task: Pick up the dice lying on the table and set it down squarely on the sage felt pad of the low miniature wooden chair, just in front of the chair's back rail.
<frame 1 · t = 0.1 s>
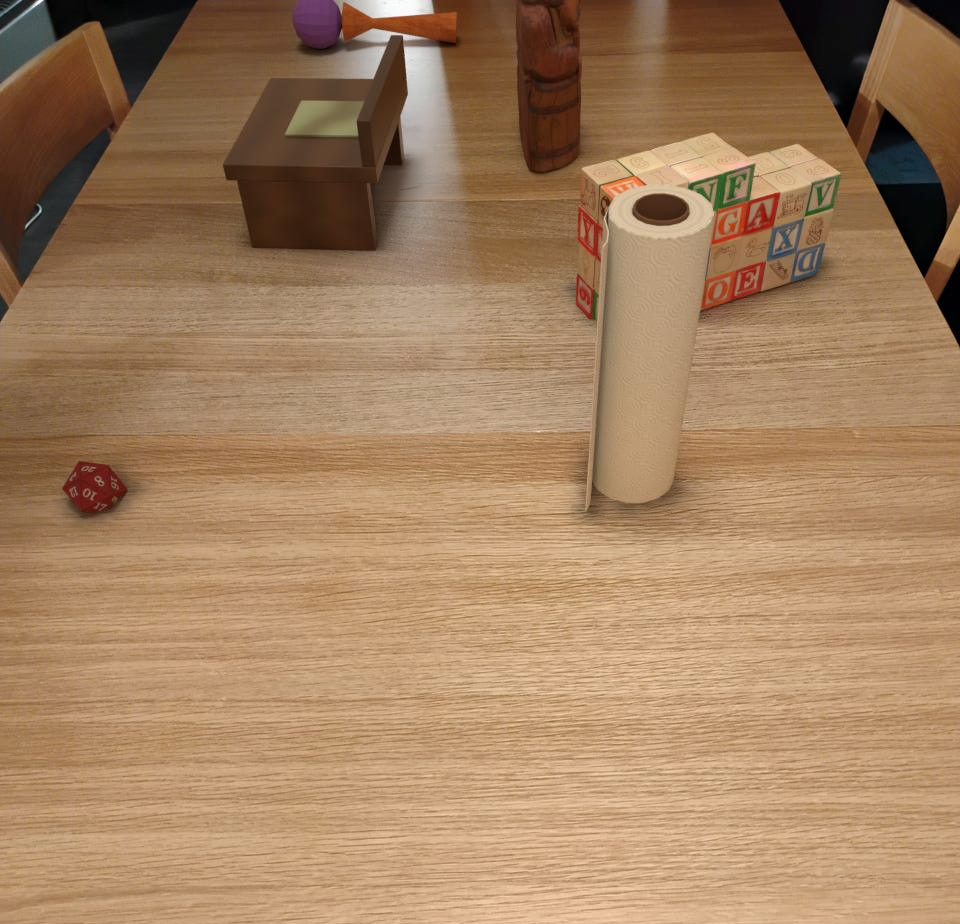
paper towel roll: (622, 489, 73), on the table
stack of blocks: (696, 291, 89), on the table
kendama: (377, 46, 125), on the table
wooden figurine: (548, 149, 106), on the table
dice: (104, 510, 74), on the table
miniature wooden chair: (332, 200, 101), on the table
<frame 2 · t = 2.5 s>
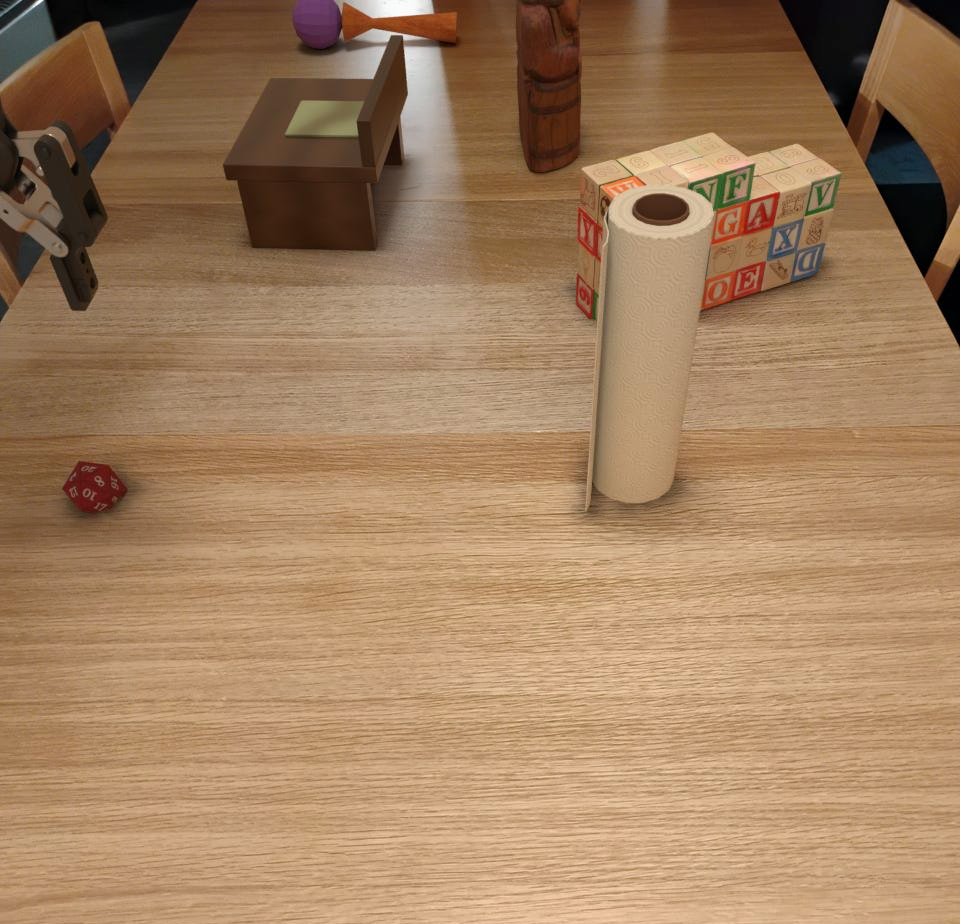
hand: (18, 303, 61), 17 cm above the table, tool pointing down, fingers open, 8 cm apart
nothing on the table moved.
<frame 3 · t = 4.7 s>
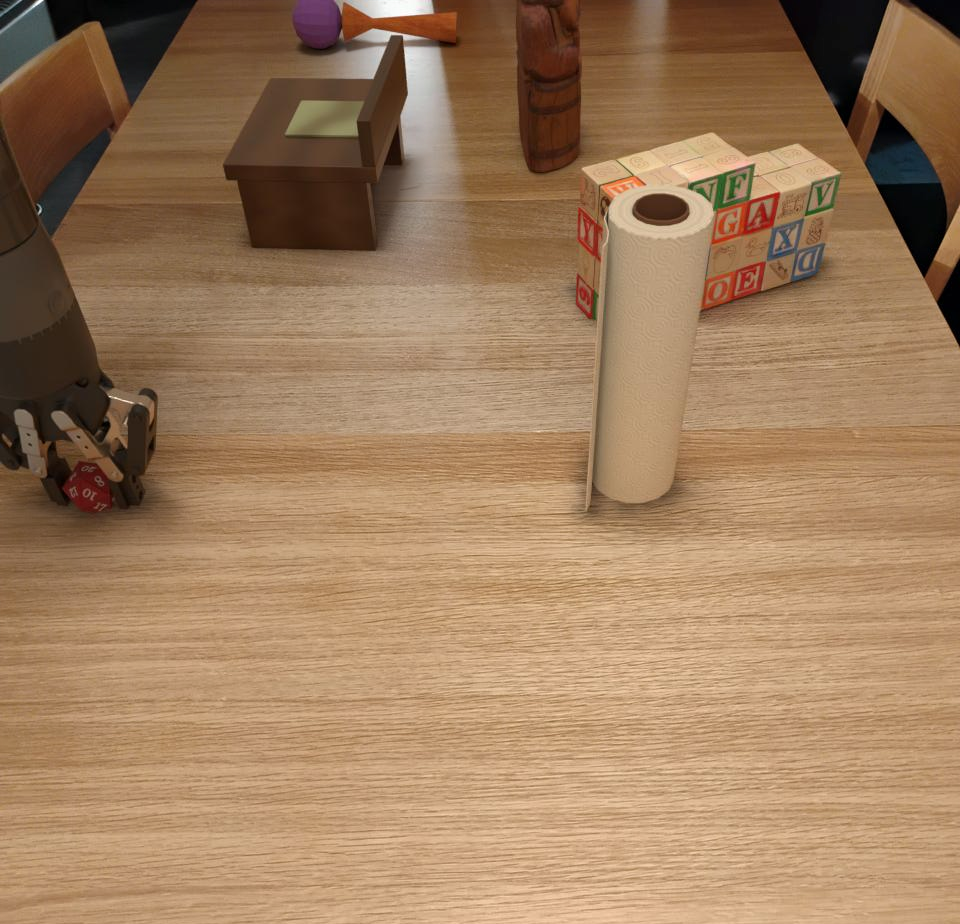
hand: (102, 506, 74), 0 cm above the table, tool pointing down, fingers closed on dice, 4 cm apart
dice: (104, 510, 74), on the table, touching gripper
everything else where it was.
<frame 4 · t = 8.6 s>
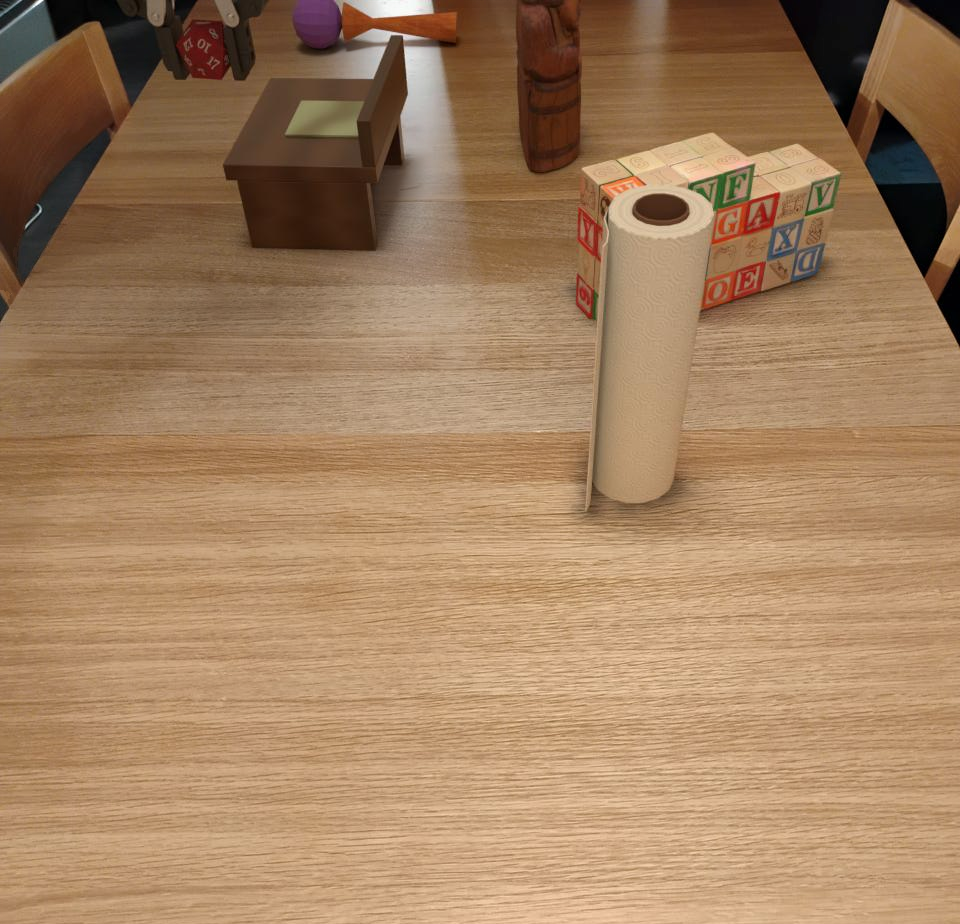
hand: (212, 74, 75), 19 cm above the table, tool pointing down, fingers closed on dice, 4 cm apart
dice: (214, 81, 75), point 19 cm above the table, touching gripper
everything else where it was.
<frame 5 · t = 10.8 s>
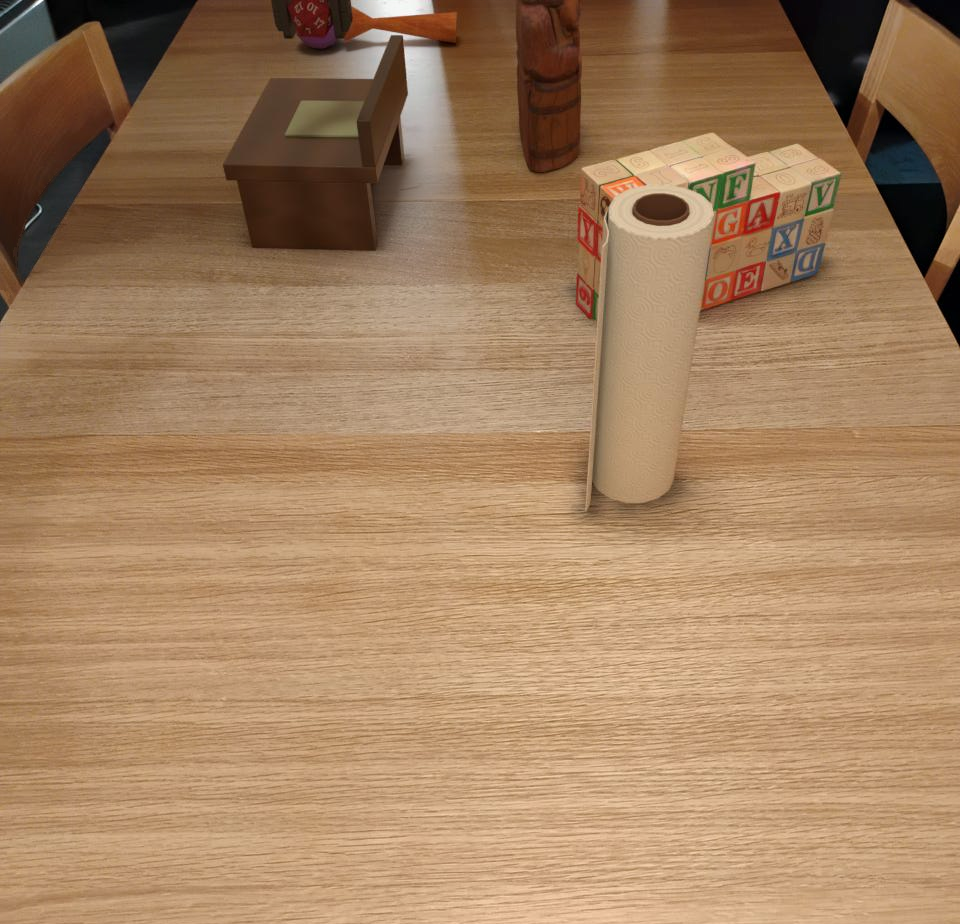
hand: (315, 34, 89), 15 cm above the table, tool pointing down, fingers closed on dice, 4 cm apart
dice: (316, 39, 89), point 15 cm above the table, touching gripper
everything else where it was.
when the fingers open (8 cm above the table, at t = 12.6 s): dice stays where it is, resting on miniature wooden chair.
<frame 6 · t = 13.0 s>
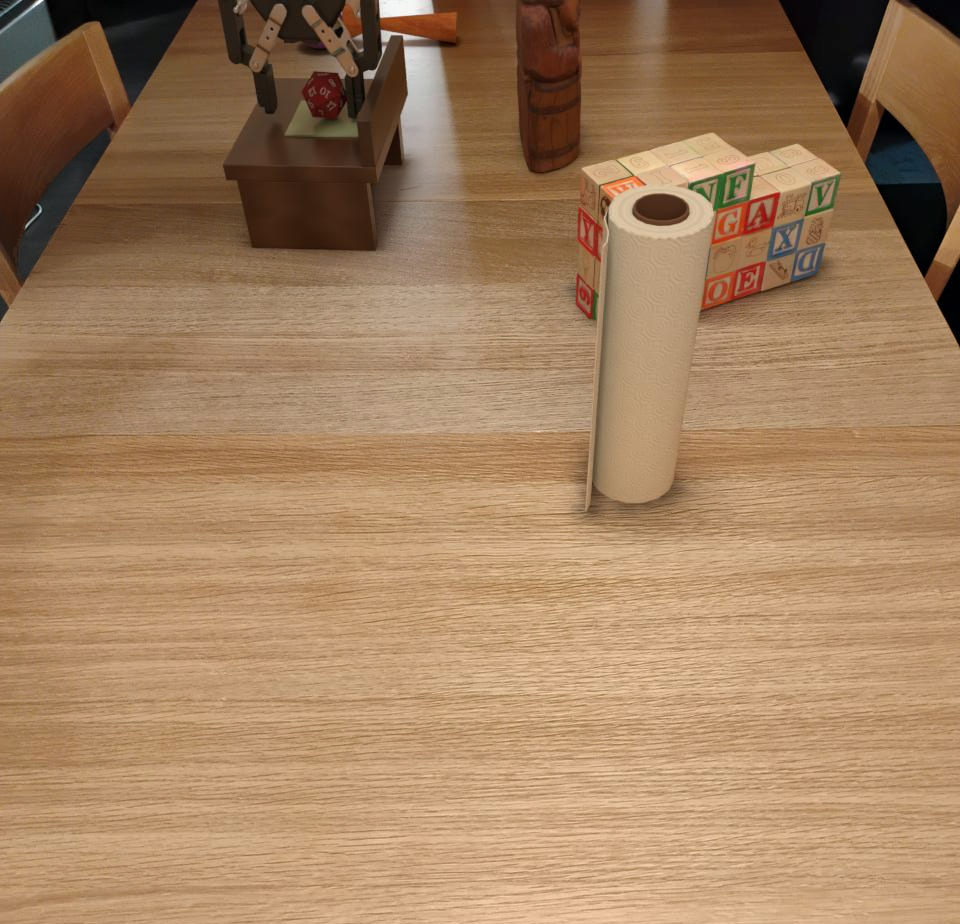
hand: (312, 112, 94), 9 cm above the table, tool pointing down, fingers open, 7 cm apart
dice: (328, 119, 95), point 8 cm above the table, touching miniature wooden chair
everything else where it was.
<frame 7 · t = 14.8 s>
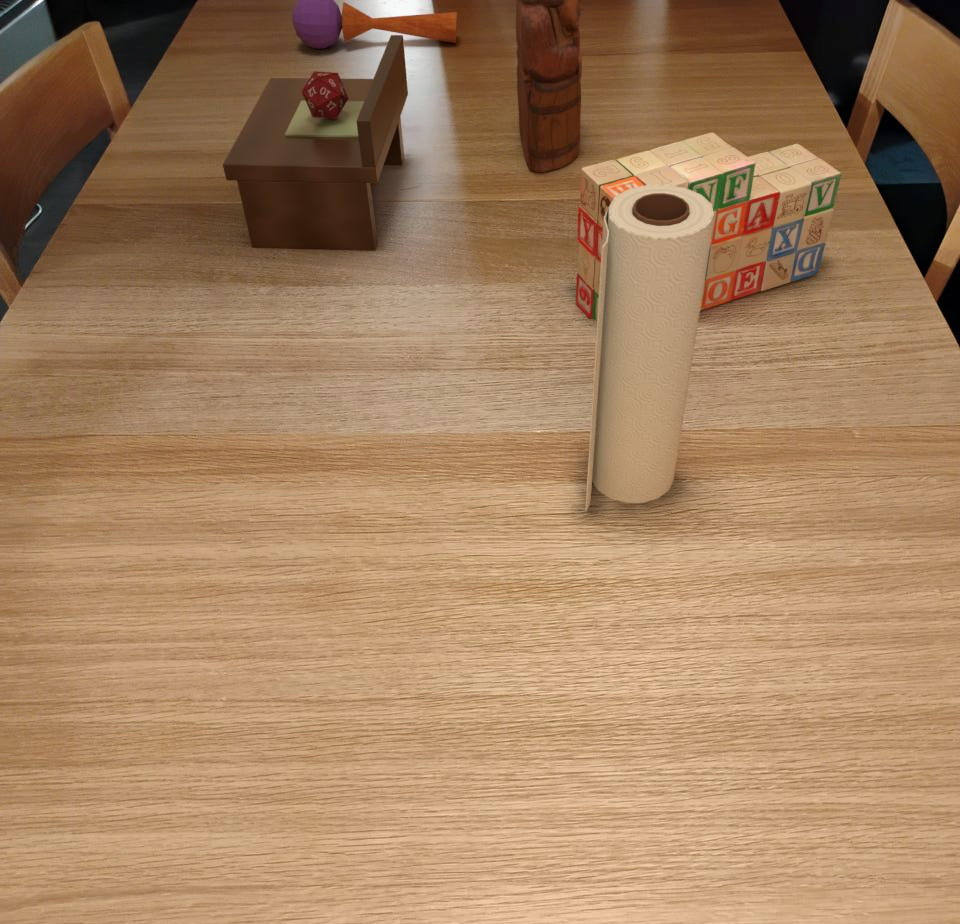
nothing on the table moved.
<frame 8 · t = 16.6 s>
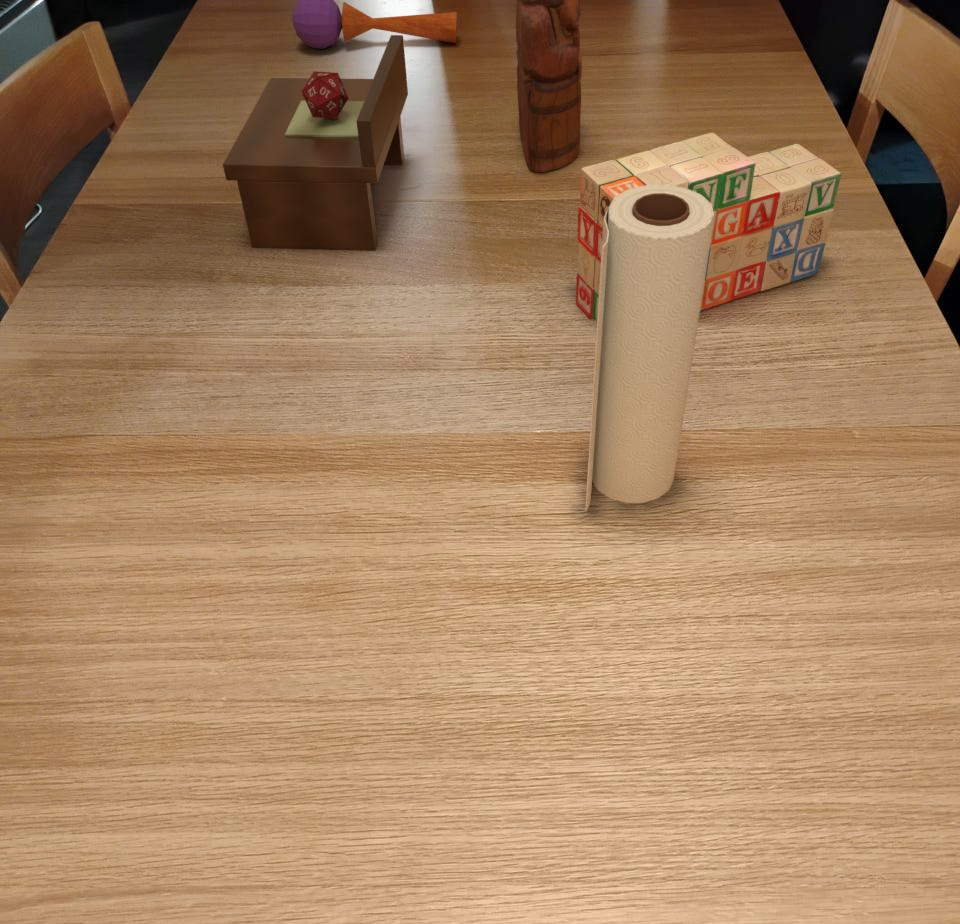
nothing on the table moved.
at the end: dice 0.1 cm from the target spot on the miniature wooden chair, point 8.0 cm above the miniature wooden chair's base; dice tilted 0°; the gripper is holding nothing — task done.
